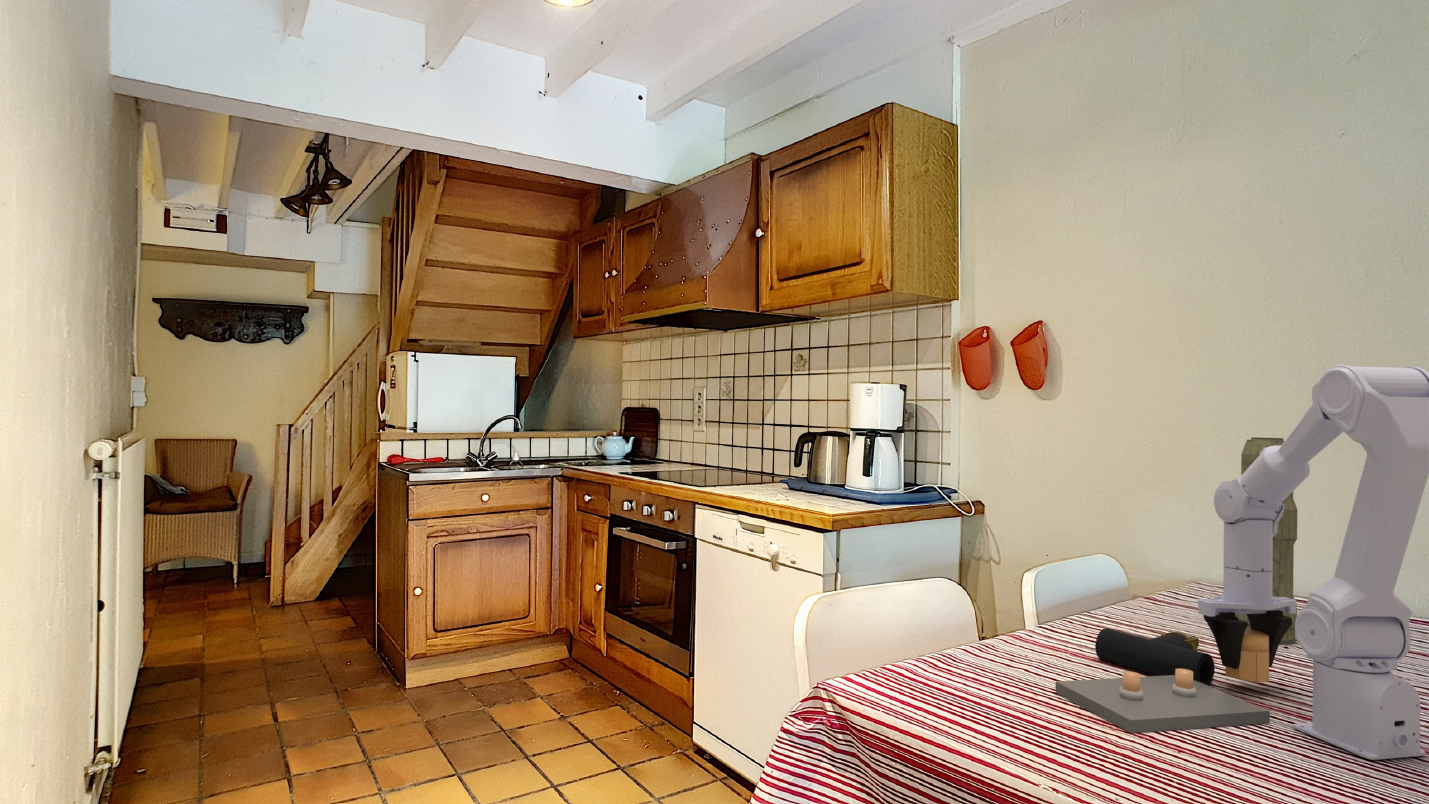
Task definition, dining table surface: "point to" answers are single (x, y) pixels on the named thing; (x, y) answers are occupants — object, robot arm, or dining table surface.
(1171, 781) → the dining table surface
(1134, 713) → the board
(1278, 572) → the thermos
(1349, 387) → the robot arm
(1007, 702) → the dining table surface
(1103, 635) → the pipe connector
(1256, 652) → the wire cap
